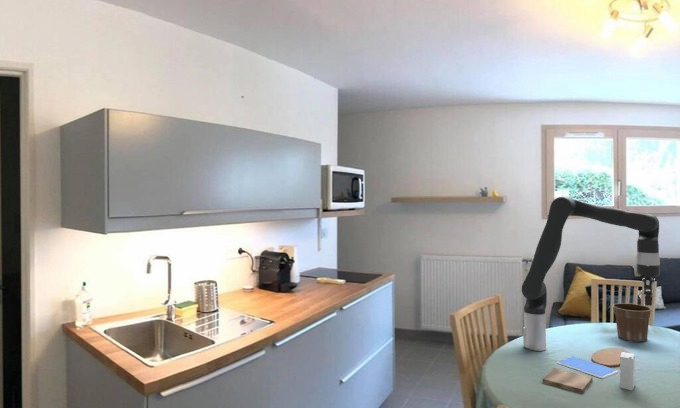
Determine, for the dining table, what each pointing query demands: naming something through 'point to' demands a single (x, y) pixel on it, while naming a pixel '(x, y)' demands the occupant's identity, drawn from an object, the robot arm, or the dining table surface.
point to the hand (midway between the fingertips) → (648, 302)
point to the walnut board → (568, 380)
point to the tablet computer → (588, 367)
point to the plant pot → (632, 321)
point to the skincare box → (627, 371)
